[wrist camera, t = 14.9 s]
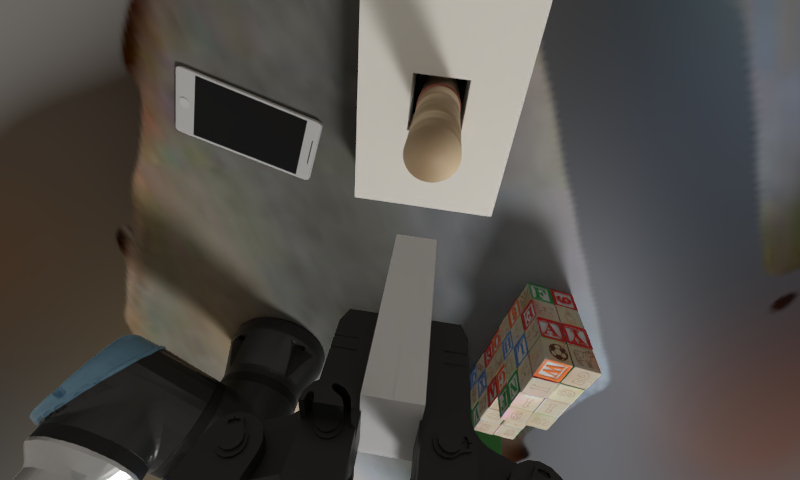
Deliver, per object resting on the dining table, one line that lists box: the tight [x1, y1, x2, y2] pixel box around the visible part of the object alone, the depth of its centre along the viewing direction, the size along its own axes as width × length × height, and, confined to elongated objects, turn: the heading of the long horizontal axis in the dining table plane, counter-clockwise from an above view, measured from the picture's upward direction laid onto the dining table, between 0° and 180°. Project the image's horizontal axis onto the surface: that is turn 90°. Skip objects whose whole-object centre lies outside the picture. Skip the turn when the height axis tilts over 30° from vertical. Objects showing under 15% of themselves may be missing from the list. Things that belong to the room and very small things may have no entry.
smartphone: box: [176, 66, 323, 180], centre depth 40 cm, size 7×16×1 cm, turn 70°
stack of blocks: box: [470, 283, 601, 440], centre depth 49 cm, size 21×6×12 cm, turn 166°
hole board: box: [355, 0, 552, 217], centre depth 34 cm, size 14×20×5 cm
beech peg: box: [403, 75, 462, 183], centre depth 29 cm, size 4×4×16 cm
